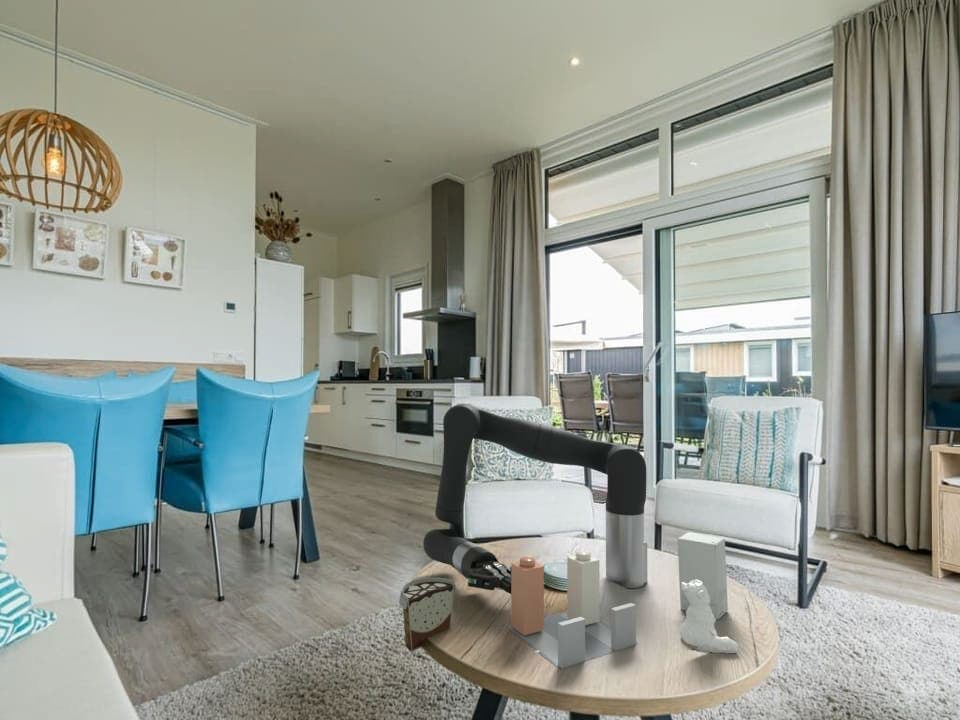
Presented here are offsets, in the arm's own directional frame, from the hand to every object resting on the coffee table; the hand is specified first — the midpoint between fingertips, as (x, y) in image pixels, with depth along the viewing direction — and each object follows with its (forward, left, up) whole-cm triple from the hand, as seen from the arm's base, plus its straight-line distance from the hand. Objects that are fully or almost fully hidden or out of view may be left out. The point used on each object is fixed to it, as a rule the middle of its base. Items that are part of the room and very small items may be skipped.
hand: (515, 589), depth 104 cm
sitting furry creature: (-27, +23, -8) cm, 36 cm away
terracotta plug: (0, +4, -6) cm, 7 cm away
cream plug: (-12, +6, -6) cm, 15 cm away
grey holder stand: (-6, +10, -8) cm, 14 cm away
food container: (+18, -5, -8) cm, 20 cm away
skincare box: (-40, +13, -8) cm, 43 cm away
